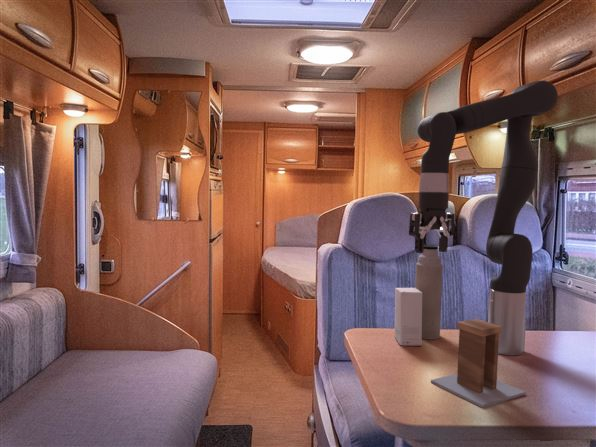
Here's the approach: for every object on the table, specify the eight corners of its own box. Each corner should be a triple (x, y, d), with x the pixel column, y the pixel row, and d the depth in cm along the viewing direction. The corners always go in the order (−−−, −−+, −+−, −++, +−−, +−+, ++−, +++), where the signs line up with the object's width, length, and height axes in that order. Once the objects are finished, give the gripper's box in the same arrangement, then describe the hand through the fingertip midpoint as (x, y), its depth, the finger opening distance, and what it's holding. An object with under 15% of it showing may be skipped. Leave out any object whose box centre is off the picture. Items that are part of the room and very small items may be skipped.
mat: (472, 372, 110) (472, 369, 110) (525, 394, 98) (525, 391, 98) (430, 382, 103) (430, 379, 103) (482, 407, 91) (482, 405, 91)
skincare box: (421, 346, 129) (424, 292, 128) (398, 346, 129) (400, 292, 128) (414, 337, 137) (416, 287, 136) (392, 337, 137) (394, 286, 136)
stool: (473, 377, 105) (476, 318, 104) (499, 388, 99) (502, 326, 98) (454, 382, 102) (457, 321, 101) (479, 394, 96) (482, 330, 95)
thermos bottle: (438, 332, 143) (442, 244, 141) (441, 340, 135) (445, 247, 133) (412, 330, 144) (416, 243, 143) (413, 338, 136) (417, 246, 135)
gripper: (424, 190, 111) (421, 255, 112) (464, 191, 118) (461, 253, 119) (403, 190, 118) (401, 251, 119) (442, 191, 125) (439, 249, 126)
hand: (431, 252), depth 119 cm, fingers open, 8 cm apart
